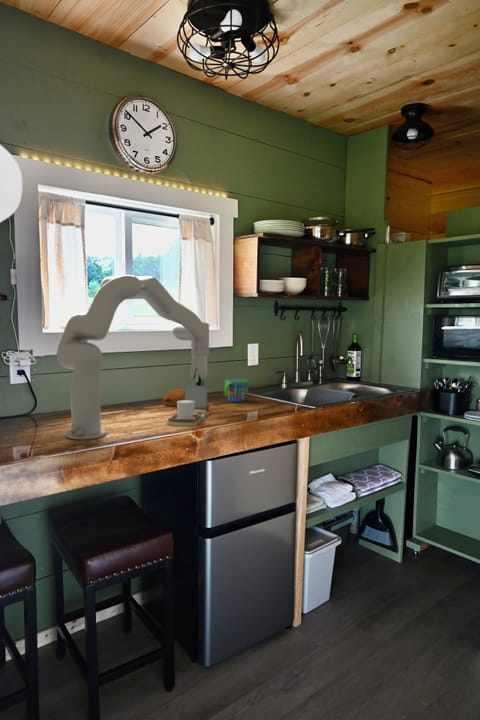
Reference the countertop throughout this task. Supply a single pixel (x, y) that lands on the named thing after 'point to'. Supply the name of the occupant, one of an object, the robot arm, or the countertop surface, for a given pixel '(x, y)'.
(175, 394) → the croissant
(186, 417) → the white tapered cup
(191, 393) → the flap
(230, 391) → the snack cup
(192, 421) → the jig board
